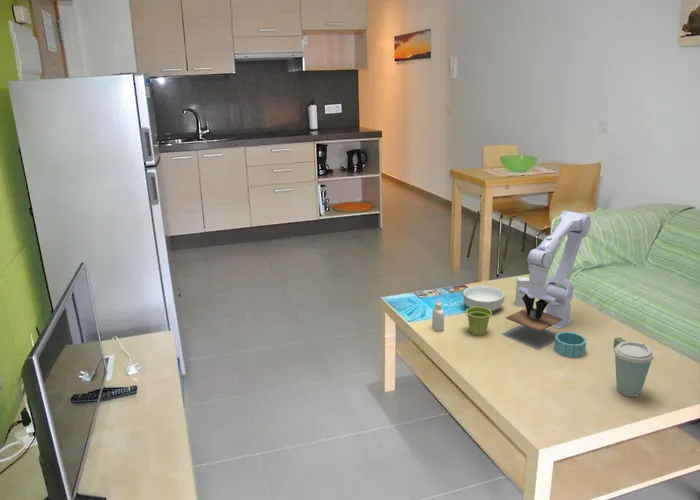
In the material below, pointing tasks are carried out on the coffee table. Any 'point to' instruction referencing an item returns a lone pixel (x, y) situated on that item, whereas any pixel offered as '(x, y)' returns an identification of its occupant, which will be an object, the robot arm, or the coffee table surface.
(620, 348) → the disposable coffee cup
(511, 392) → the coffee table surface
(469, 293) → the cereal bowl
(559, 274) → the robot arm
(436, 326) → the eye dropper bottle
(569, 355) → the teal bowl
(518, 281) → the skincare box
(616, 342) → the medication box
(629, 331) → the coffee table surface
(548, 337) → the rubber mat
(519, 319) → the walnut lid
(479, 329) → the plant pot
